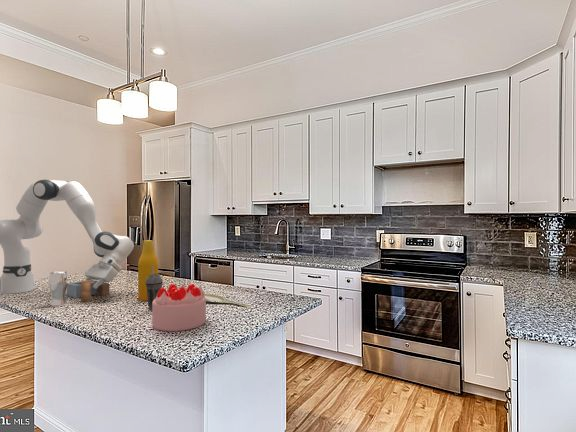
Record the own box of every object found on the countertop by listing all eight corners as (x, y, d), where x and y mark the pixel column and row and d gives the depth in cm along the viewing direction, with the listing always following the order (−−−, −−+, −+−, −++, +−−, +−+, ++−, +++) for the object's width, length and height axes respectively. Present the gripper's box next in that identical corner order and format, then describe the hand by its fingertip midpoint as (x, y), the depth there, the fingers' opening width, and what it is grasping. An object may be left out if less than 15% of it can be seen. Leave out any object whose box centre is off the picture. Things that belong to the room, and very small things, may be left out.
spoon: (262, 309, 159) (263, 305, 159) (249, 315, 150) (249, 310, 150) (205, 295, 176) (205, 291, 176) (190, 300, 167) (190, 296, 167)
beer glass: (58, 307, 155) (58, 273, 155) (45, 306, 157) (45, 273, 157) (71, 303, 162) (71, 271, 162) (58, 302, 164) (58, 270, 163)
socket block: (66, 295, 177) (66, 283, 177) (87, 291, 186) (87, 280, 186) (76, 297, 172) (76, 285, 172) (96, 294, 180) (96, 282, 180)
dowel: (79, 301, 165) (79, 281, 165) (88, 300, 168) (88, 279, 168) (83, 303, 162) (83, 282, 162) (92, 301, 166) (92, 280, 166)
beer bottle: (158, 300, 168) (158, 240, 168) (137, 302, 165) (137, 241, 164) (158, 296, 176) (158, 239, 176) (138, 297, 173) (138, 240, 173)
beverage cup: (166, 307, 155) (166, 263, 155) (155, 311, 148) (155, 265, 148) (153, 306, 158) (153, 262, 157) (141, 310, 151) (141, 264, 151)
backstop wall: (84, 291, 187) (84, 280, 187) (90, 290, 190) (90, 279, 190) (103, 296, 176) (103, 284, 176) (109, 295, 179) (109, 283, 179)
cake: (216, 320, 136) (216, 284, 136) (177, 336, 119) (177, 294, 119) (180, 313, 146) (180, 280, 146) (139, 326, 129) (139, 288, 129)
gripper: (94, 258, 178) (73, 280, 170) (115, 261, 167) (94, 285, 159) (102, 266, 182) (83, 287, 174) (124, 269, 171) (104, 293, 163)
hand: (89, 286), depth 166 cm, fingers open, 8 cm apart
